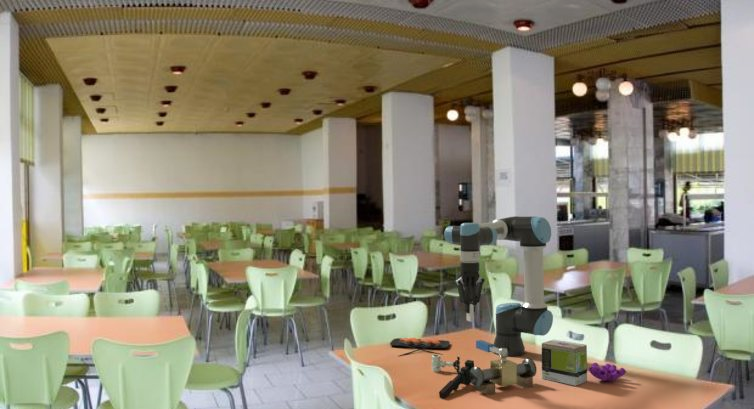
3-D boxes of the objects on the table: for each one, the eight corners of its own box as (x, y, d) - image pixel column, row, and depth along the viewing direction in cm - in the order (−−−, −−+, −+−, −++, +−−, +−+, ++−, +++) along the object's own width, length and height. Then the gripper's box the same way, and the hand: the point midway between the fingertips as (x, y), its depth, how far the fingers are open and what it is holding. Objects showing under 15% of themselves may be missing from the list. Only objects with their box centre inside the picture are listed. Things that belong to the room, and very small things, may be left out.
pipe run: (523, 380, 239) (523, 350, 239) (537, 385, 232) (537, 355, 232) (468, 389, 228) (468, 359, 227) (481, 395, 220) (481, 364, 220)
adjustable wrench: (440, 409, 220) (469, 379, 240) (446, 411, 218) (475, 380, 239) (437, 388, 218) (467, 359, 239) (444, 390, 217) (473, 360, 237)
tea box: (587, 381, 238) (587, 344, 237) (575, 387, 231) (575, 348, 230) (553, 373, 248) (553, 338, 248) (540, 378, 241) (540, 342, 241)
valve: (430, 373, 250) (458, 374, 248) (430, 357, 250) (458, 358, 248) (432, 368, 257) (460, 370, 254) (432, 353, 257) (460, 354, 254)
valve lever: (509, 357, 229) (508, 349, 229) (502, 358, 228) (502, 350, 228) (481, 347, 245) (481, 339, 245) (475, 348, 243) (475, 340, 243)
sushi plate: (450, 344, 301) (450, 336, 301) (443, 360, 272) (443, 351, 272) (394, 341, 308) (394, 334, 308) (381, 356, 279) (381, 348, 279)
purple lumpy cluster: (614, 384, 243) (629, 368, 240) (605, 394, 231) (621, 377, 228) (591, 364, 248) (606, 348, 245) (581, 373, 236) (597, 356, 233)
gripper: (461, 263, 231) (461, 324, 231) (489, 261, 237) (489, 321, 237) (450, 261, 238) (451, 320, 238) (477, 260, 243) (478, 317, 244)
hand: (470, 320), depth 237 cm, fingers closed
